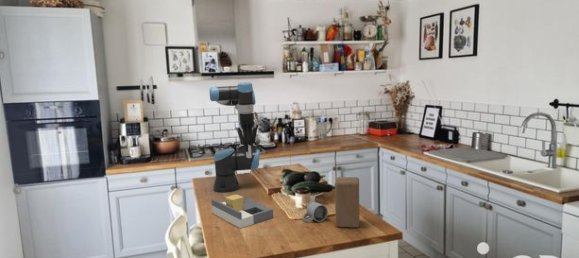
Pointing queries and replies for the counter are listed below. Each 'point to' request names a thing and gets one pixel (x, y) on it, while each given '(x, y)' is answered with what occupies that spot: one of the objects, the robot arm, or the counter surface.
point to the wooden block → (347, 202)
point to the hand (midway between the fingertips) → (248, 157)
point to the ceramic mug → (316, 212)
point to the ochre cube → (235, 202)
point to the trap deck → (242, 213)
